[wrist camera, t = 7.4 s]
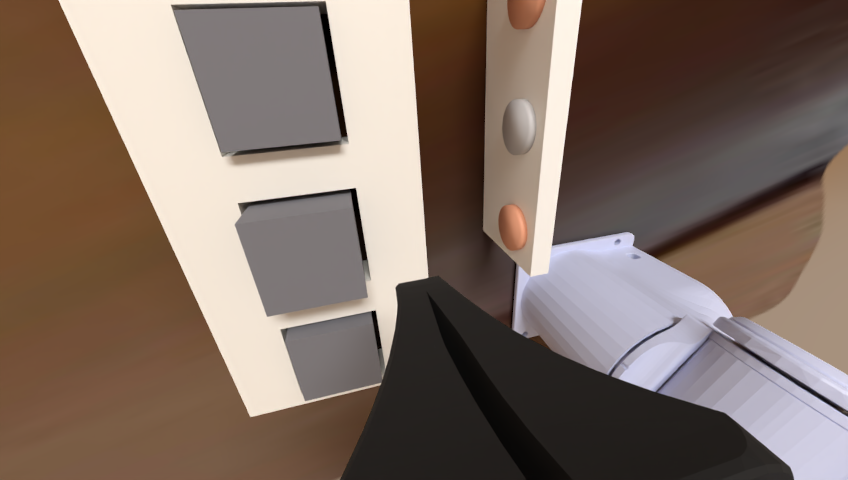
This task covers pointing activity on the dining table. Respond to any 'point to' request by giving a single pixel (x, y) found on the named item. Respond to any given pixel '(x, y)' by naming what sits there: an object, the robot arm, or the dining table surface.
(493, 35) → the card
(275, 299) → the button middle
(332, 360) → the button cup side
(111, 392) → the dining table surface
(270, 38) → the button mug side
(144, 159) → the button board
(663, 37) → the dining table surface
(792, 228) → the dining table surface
